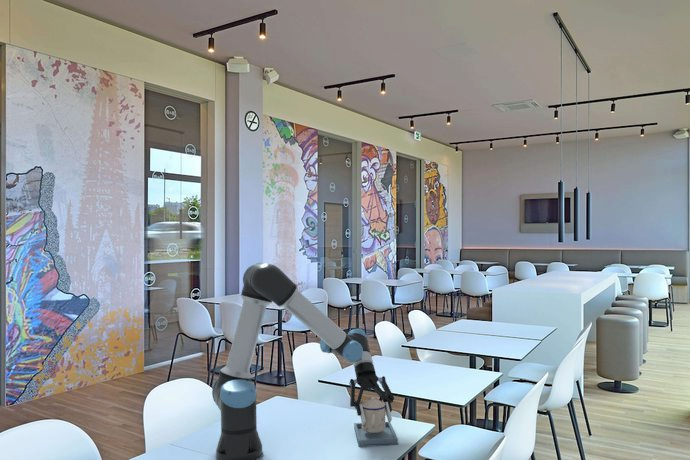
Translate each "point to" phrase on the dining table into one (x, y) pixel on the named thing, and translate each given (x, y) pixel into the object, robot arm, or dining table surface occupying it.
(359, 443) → the slate tray
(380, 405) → the teacup with lid
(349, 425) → the dining table surface
